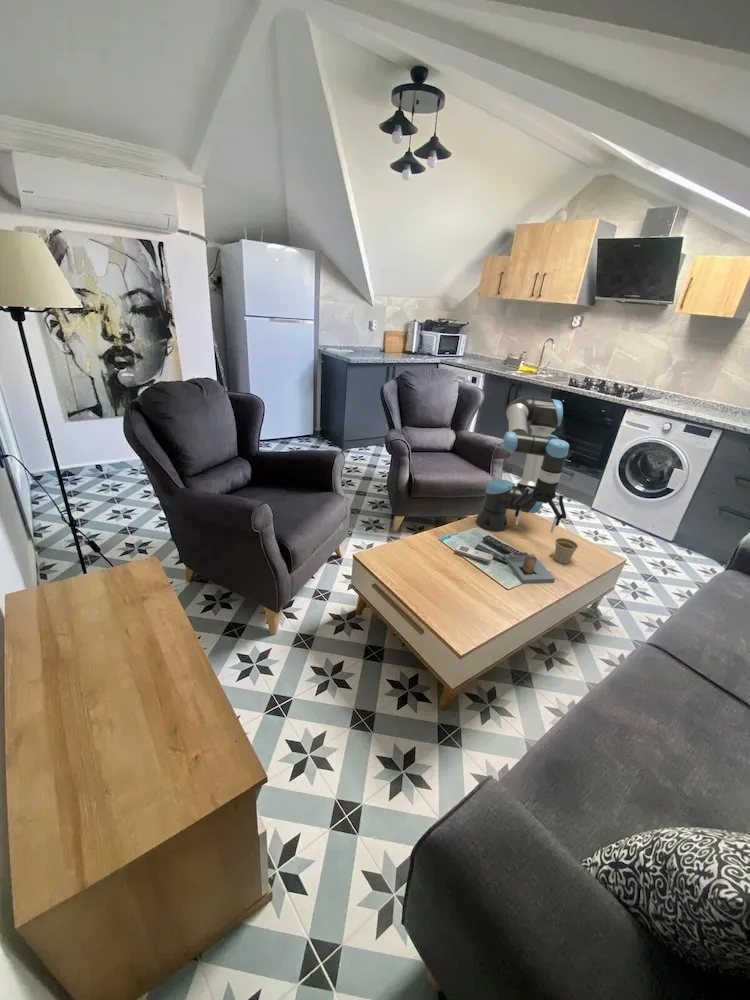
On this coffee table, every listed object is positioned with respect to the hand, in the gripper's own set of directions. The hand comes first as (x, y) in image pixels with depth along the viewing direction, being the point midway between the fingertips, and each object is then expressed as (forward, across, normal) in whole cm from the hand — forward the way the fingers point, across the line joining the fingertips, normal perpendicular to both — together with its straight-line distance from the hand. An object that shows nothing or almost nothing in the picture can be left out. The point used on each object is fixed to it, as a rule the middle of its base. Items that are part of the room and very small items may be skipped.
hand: (533, 527), depth 168 cm
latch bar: (+18, -2, +2) cm, 18 cm away
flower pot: (+20, +16, +15) cm, 30 cm away
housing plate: (+20, +2, -1) cm, 20 cm away
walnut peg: (+20, +2, -5) cm, 21 cm away
